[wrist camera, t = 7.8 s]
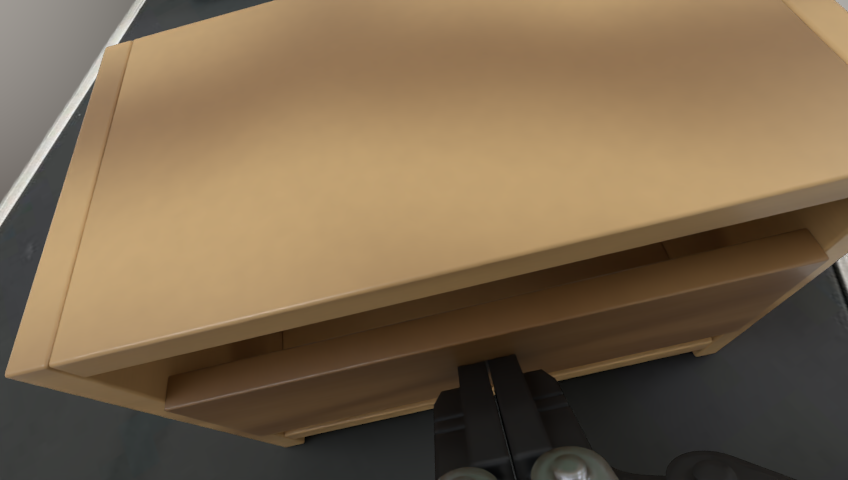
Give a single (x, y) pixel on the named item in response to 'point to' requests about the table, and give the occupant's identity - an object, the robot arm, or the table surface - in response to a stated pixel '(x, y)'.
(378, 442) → the table surface
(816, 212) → the wooden drawer chest
